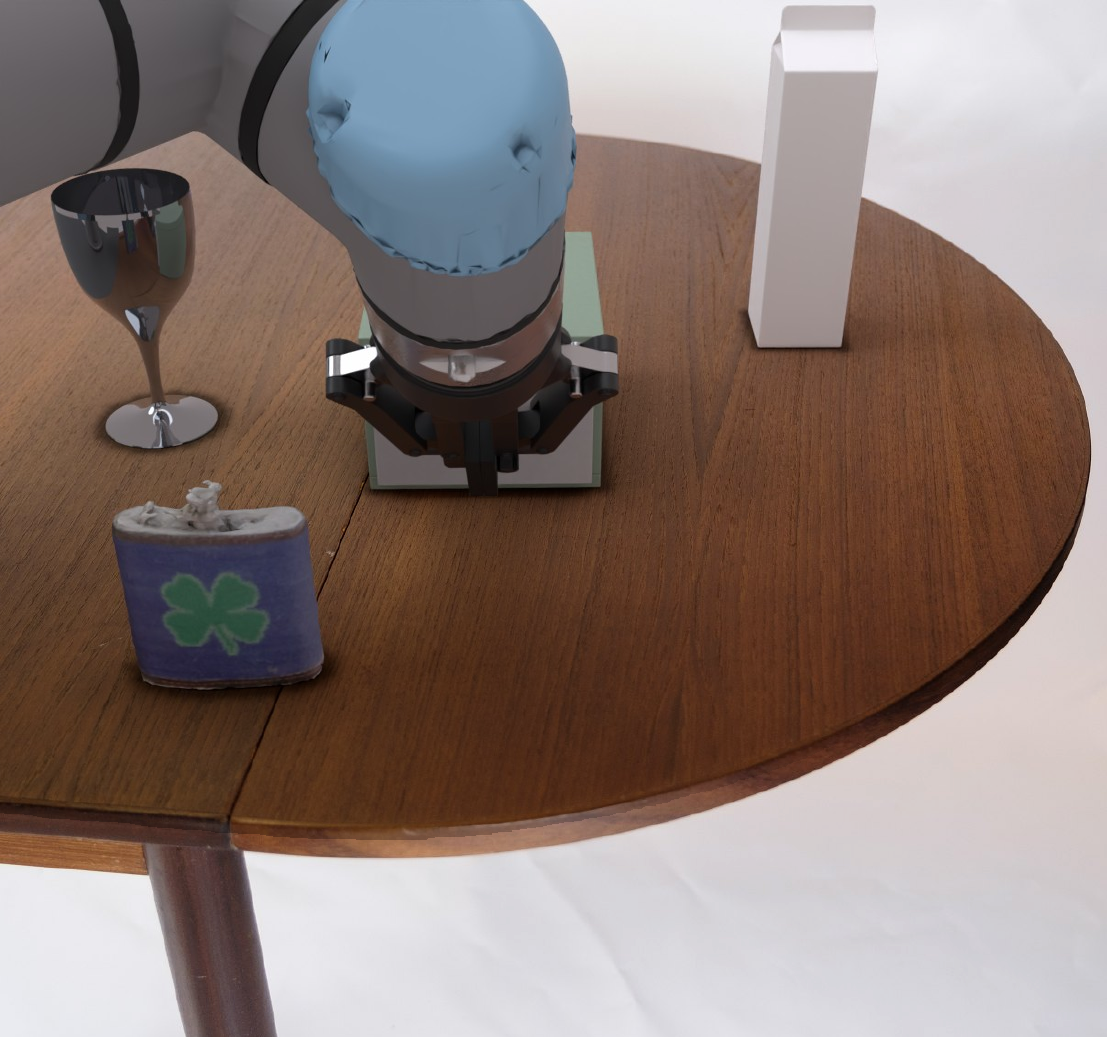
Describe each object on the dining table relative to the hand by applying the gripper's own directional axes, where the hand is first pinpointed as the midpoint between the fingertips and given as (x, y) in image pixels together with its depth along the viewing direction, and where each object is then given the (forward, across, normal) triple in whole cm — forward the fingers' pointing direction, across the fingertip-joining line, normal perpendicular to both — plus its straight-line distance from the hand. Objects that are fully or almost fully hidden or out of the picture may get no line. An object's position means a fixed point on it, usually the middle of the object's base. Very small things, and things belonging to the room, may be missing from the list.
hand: (483, 472), depth 78 cm
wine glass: (+15, -21, +8) cm, 27 cm away
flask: (-4, -13, -11) cm, 17 cm away
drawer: (+10, 0, +5) cm, 11 cm away
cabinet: (+14, 0, +7) cm, 16 cm away
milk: (+24, +22, +17) cm, 36 cm away
